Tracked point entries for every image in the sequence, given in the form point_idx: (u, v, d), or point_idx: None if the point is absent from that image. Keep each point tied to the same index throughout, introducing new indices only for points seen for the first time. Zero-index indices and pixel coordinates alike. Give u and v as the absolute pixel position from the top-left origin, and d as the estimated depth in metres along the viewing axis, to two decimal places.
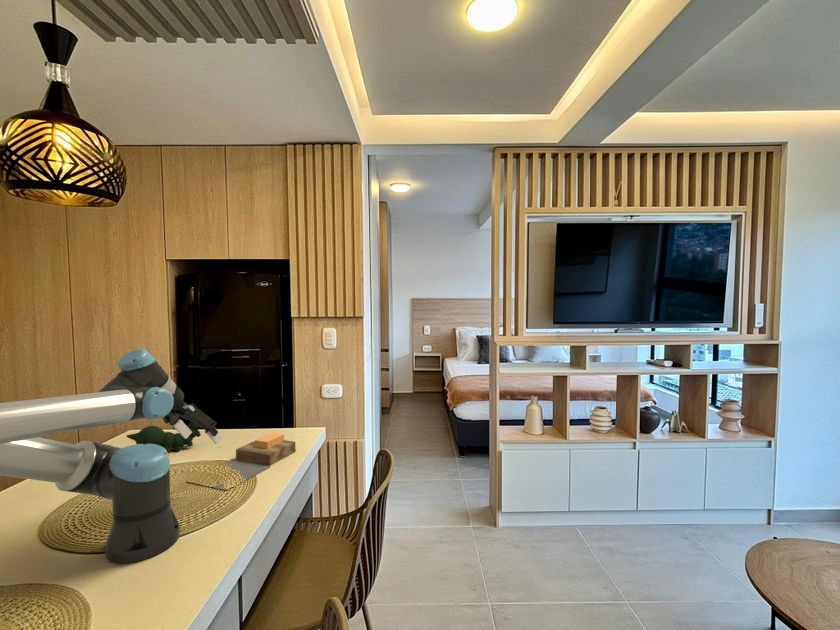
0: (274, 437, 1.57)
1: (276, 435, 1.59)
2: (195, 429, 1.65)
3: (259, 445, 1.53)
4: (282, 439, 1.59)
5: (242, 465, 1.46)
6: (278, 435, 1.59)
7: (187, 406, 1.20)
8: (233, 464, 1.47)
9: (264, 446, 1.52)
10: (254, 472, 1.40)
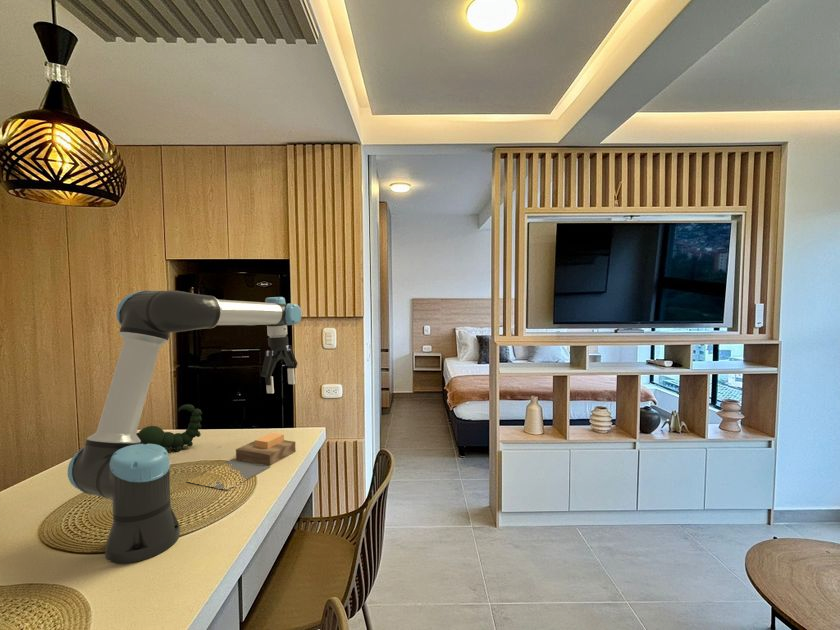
0: (274, 437, 1.57)
1: (276, 435, 1.59)
2: (195, 429, 1.65)
3: (259, 445, 1.53)
4: (282, 439, 1.59)
5: (242, 465, 1.46)
6: (278, 435, 1.59)
7: None
8: (233, 464, 1.47)
9: (264, 446, 1.52)
10: (254, 472, 1.40)
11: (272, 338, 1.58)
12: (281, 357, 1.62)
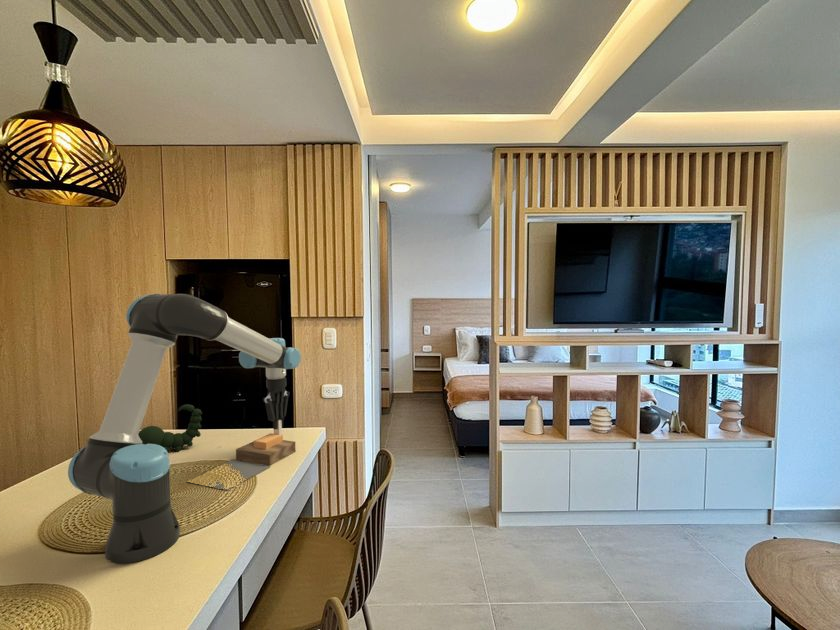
0: (273, 438, 1.56)
1: (275, 435, 1.58)
2: (195, 429, 1.65)
3: (258, 446, 1.53)
4: (281, 440, 1.59)
5: (242, 465, 1.46)
6: (277, 436, 1.58)
7: (267, 397, 1.55)
8: (233, 464, 1.47)
9: (263, 447, 1.52)
10: (254, 472, 1.40)
11: (270, 380, 1.57)
12: (278, 399, 1.60)
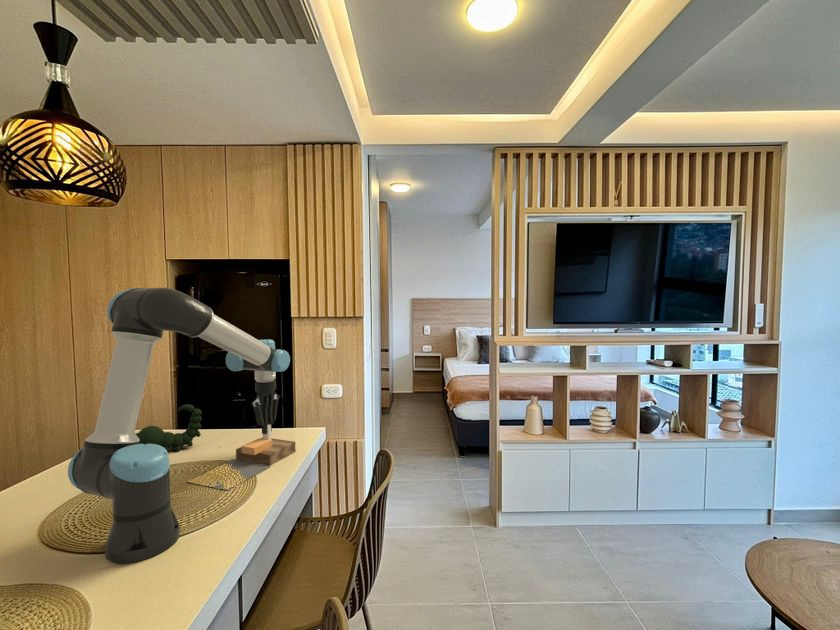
0: (262, 443, 1.50)
1: (264, 440, 1.53)
2: (195, 429, 1.65)
3: (246, 451, 1.47)
4: (270, 445, 1.53)
5: (242, 465, 1.46)
6: (266, 441, 1.53)
7: (255, 401, 1.50)
8: (233, 464, 1.47)
9: (251, 452, 1.46)
10: (254, 472, 1.40)
11: (258, 383, 1.52)
12: (268, 403, 1.55)
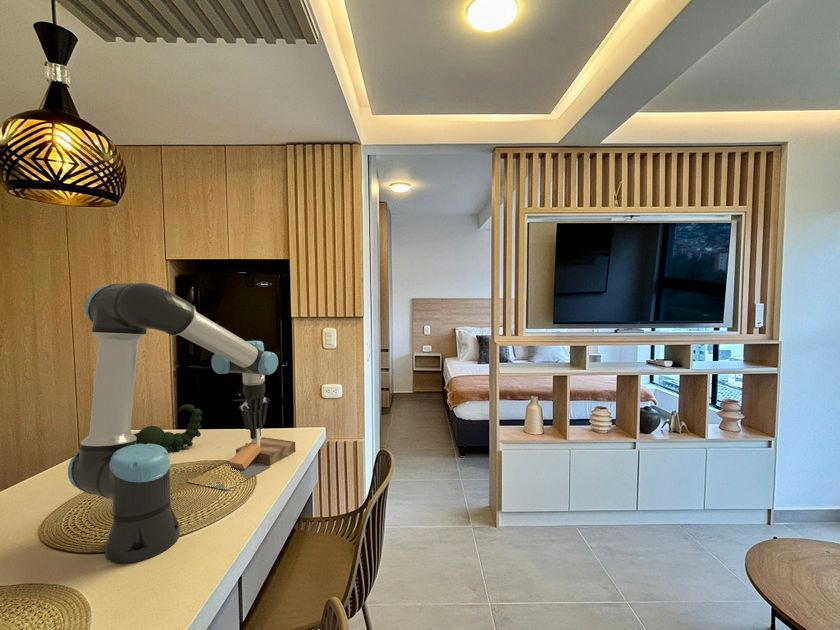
0: (249, 453, 1.45)
1: (251, 447, 1.47)
2: (195, 429, 1.65)
3: (235, 466, 1.43)
4: (259, 450, 1.48)
5: None
6: (253, 448, 1.47)
7: (243, 404, 1.45)
8: None
9: (240, 467, 1.42)
10: (254, 472, 1.40)
11: (247, 386, 1.46)
12: (256, 406, 1.49)
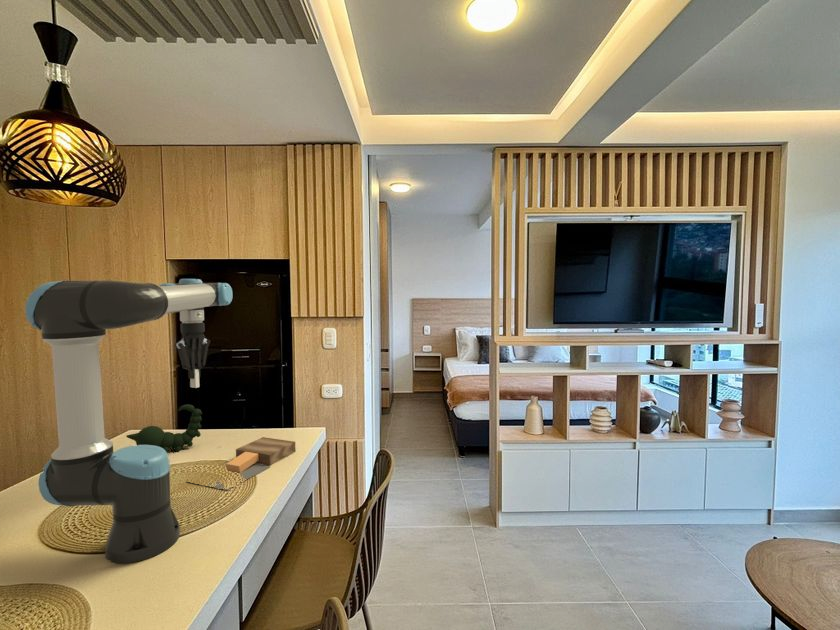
0: (247, 458, 1.44)
1: (250, 455, 1.46)
2: (195, 429, 1.65)
3: (231, 469, 1.41)
4: (257, 459, 1.47)
5: None
6: (252, 455, 1.46)
7: (179, 342, 1.41)
8: None
9: (236, 470, 1.40)
10: (254, 472, 1.40)
11: (183, 324, 1.43)
12: (195, 346, 1.46)
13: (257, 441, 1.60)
